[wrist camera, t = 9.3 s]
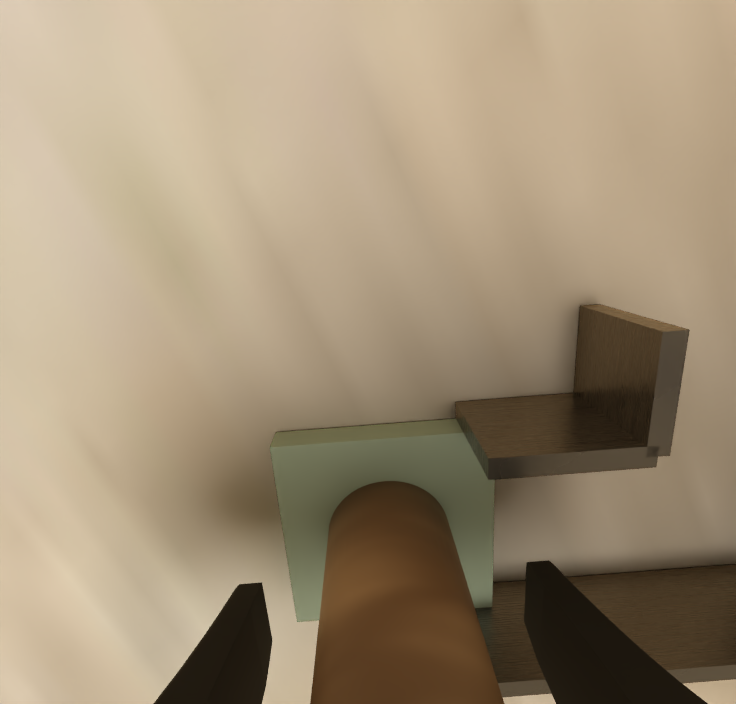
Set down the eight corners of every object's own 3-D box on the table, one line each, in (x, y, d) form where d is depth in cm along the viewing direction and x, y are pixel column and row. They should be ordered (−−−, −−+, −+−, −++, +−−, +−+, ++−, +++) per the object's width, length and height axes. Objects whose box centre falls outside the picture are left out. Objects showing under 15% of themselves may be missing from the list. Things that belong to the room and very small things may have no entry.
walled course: (844, 285, 12) (1024, 304, 9) (769, 574, 16) (883, 667, 12) (454, 315, 12) (490, 344, 9) (457, 597, 15) (485, 698, 12)
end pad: (485, 416, 13) (495, 430, 12) (484, 583, 15) (492, 607, 14) (275, 432, 13) (269, 447, 12) (300, 597, 15) (296, 621, 14)
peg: (447, 476, 13) (579, 838, 5) (449, 576, 14) (559, 996, 6) (322, 485, 13) (267, 861, 5) (334, 585, 14) (303, 1015, 6)
